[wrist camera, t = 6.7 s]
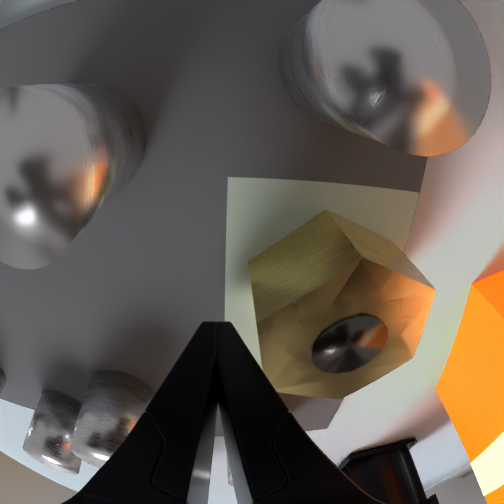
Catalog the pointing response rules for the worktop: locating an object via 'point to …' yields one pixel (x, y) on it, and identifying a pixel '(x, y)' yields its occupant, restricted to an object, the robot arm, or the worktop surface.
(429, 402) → the worktop surface
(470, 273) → the worktop surface
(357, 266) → the nut
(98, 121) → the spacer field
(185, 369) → the robot arm
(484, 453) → the orange juice
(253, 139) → the mat
